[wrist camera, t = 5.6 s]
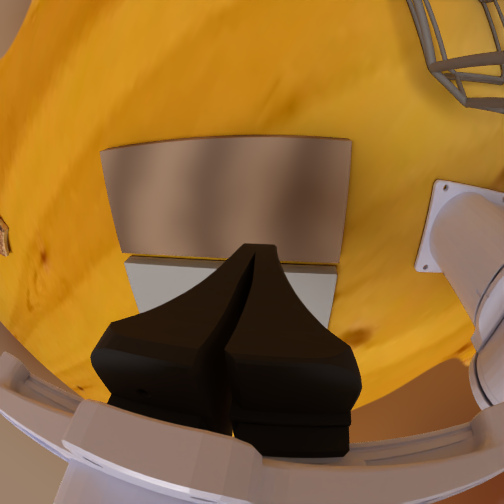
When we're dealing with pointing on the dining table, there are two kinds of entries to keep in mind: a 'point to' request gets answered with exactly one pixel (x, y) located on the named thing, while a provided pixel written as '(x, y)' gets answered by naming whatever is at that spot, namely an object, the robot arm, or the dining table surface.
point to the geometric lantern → (459, 59)
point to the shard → (3, 239)
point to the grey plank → (194, 271)
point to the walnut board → (230, 195)
